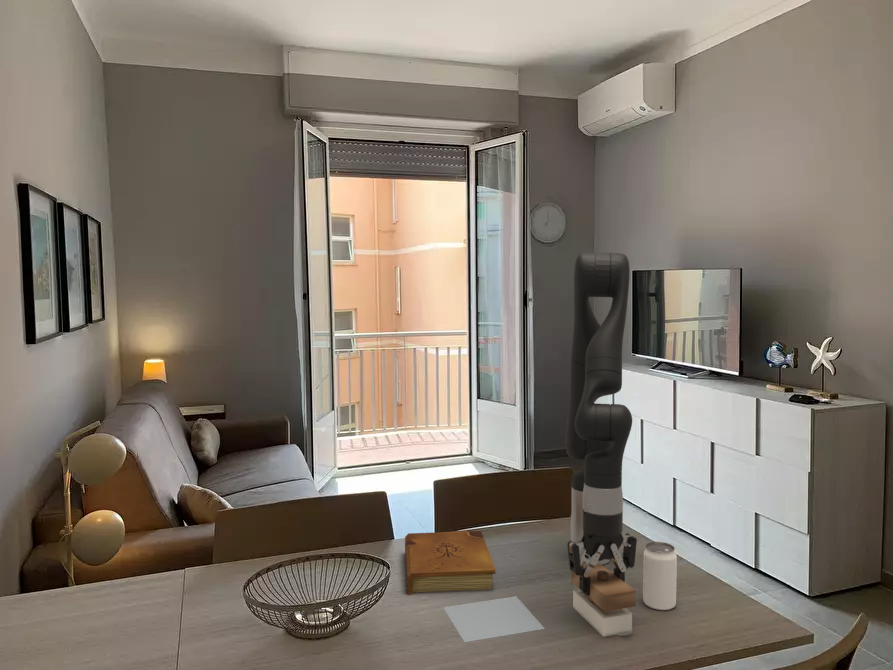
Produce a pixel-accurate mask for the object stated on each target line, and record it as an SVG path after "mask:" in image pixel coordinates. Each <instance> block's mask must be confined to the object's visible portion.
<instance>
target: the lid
mask: <svg viewBox="0 0 893 670" xmlns="http://www.w3.org/2000/svg"><path fill="white" fill-rule="evenodd" d="M589 577H590V595H588V597H589V598H590V599H591V600H592V601H594V602H595V603H596V604H597V605H598V606H599V607H600V608H601V609H602V610H604V611H611V610H617V609H623V608H626V609H628V608H634V607H636V603H637V602H636V601H637V600H636V594H637V591H636V590H635V589H634V588H633V587H632V586H630V585H629V584H627V582H626V581H625V582H624V581H622V580H621V579H619V578H618V577H617V576H615V575H614V572H612V571H611V570H609V568H607V567H606V566H604V564H602V565H601V564H596V566H595V567H593V569H592V571H591V573H590V575H589ZM571 583H572V584H573V585H574V586H575V587H577V589H578V590H580V588H579V576H577V575H576V574H575V573H574V572H573V571H571Z"/></svg>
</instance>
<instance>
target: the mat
mask: <svg viewBox="0 0 893 670" xmlns="http://www.w3.org/2000/svg"><path fill="white" fill-rule="evenodd" d="M442 609H443V610H444V612H445V613H446V615H447V616H448V619H449V620H450V621H451V624H452V625H453V626H454V628H455V630H456V631H457V633H458V634H459V636H460V637H461V640H462V641H463V642H464V643H469V642H475V641H481V640H486V639H493V638H498V637H503V636H504V637H505V636H511V635H517V634H522V633H528V632H533V631H534V632H535V631H540V630H545V629H546V628H545V627H544V626H543V625H542V623H541V622H540V621H539V620H538V619H537V618H536V616H534V615H533V613H531V611H530V610H529V609H528V607H526V605H525V604H524V603H523V602H522V600H520V599H519V598H518V596H517V595H516V596H515V595H514V596H510V597H504V598H496V599H490V600H483V601H476V602H470V603H462V604H456V605H450V606H443V607H442Z"/></svg>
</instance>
